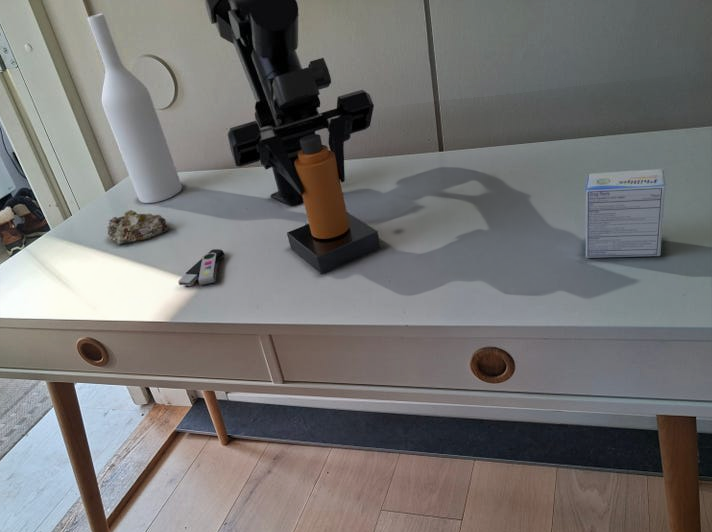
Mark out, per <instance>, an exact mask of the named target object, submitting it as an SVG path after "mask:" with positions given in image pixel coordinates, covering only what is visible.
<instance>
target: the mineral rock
mask: <svg viewBox="0 0 712 532" xmlns="http://www.w3.org/2000/svg"><path fill="white" fill-rule="evenodd" d="M168 229H169V226H168V225H167V220H166V218H164V217H163V216H162V215H161V214H152V213H137V211H135V210H132V209H130V210H126V211H125V212H124V215H123V216H120V217H117V216H115V217H112V218H111V219H109V220H108V226H107V235H108V238H109V241H111V242H113V243H115V244H117V245H119V246H120V245H122V244H127V243H133V242H136V241H141V240H147V239H151V238H153V237H155V236H156V235H161V234H162V233H164V232H165V233H166V232H167V231H168Z"/></svg>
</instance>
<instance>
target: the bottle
mask: <svg viewBox="0 0 712 532" xmlns="http://www.w3.org/2000/svg"><path fill="white" fill-rule="evenodd" d="M87 22H88V25H89V27H90V31H91V33H92V35H93V38H94V40H95V44H96V46H97V49H98V52H99V54H100V57H101V60H102V62H103V63H102V64H103V65H104V69H105V73H104V79H103V86H102V92H101V105H102V109H103V111H104V114H105V117H106V120H107V122H108V125H109V127H110V128H111V132H112V134H113V137H114V141H115V142H116V144H117V147H118V149H119V152H120V155H121V157H122V160H123V163H124V166H125V168H126V171H127V173H128V175H129V178H130V181H131V183H132V186H133V188H134V191H135V194H136V196H137V199H138V200H139V202H141V203H144V204H152V203H153V204H155V203H159V202H163V201H165V200H168V199H171V198H172V197H173V198H174V196H176V195H177V194H179V193H180V192H181V191H182V189H183V186H182V182H181V180H180V176H179V173H178V171H177V168H176V165H175V162H174V160H173V157H172V156H173V155H172V153H171V151H170V147H169V145H168V142H167V140H166V137H165V133H164V132H163V131H164V130H163V128H162V125H161V122H160V119H159V117H158V114H157V110H156V108H155V105H154V102H153V99H152V97H151V94H150V91H149V89H148V88H147V86H146V85H145V84H144V83H143V82H142V81H141V80H140V79H139V78H137V77H136V76H135V75H134V74H133V73H132V71H130V70H128V68H126V66H125V65H124V63H123V62H122V59H121V58H120V54H119V53H118V50H117V48H116V45H115V41H114V39H113V35H112V34H111V31H110V28H109V25H108V23H107V21H106V17H105V15H104V13H97V14H93V15H90V16H88V17H87Z"/></svg>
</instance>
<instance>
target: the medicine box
mask: <svg viewBox="0 0 712 532" xmlns="http://www.w3.org/2000/svg"><path fill="white" fill-rule="evenodd" d="M665 196H666V179H665V170H664V169H662V168H655V169H640V170H639V169H637V170H623V171H620V170H619V171H608V172H607V171H606V172H593V173H589V174H587V181H586V186H585V258H586V259H594V258H599V259H600V258H629V257H630V258H634V257H636V258H637V257H638V258H639V257H660V256H661V253H662V252H661V251H662V238H663V237H662V236H663V235H662V234H663V223H664V222H663V221H664V220H663V219H664V207H665Z"/></svg>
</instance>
